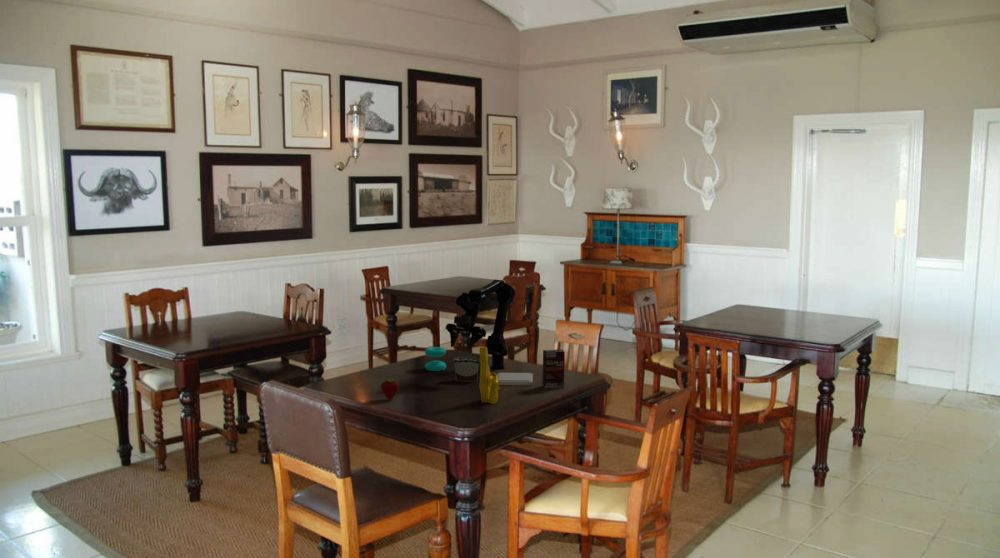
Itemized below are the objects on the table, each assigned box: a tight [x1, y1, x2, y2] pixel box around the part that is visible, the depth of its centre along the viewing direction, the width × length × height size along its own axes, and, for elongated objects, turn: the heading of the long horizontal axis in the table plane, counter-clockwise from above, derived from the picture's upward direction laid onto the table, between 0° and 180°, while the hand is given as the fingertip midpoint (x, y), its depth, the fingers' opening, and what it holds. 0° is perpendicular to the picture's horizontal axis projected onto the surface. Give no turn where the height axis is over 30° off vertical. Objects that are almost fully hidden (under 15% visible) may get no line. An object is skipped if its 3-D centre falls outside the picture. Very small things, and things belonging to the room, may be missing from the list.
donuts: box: [424, 346, 447, 372], centre depth 371 cm, size 10×10×10 cm
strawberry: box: [380, 378, 400, 401], centre depth 317 cm, size 6×8×10 cm
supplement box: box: [542, 349, 566, 389], centre depth 337 cm, size 9×5×16 cm, turn 102°
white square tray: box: [496, 372, 534, 386], centre depth 349 cm, size 16×16×2 cm
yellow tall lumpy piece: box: [479, 346, 501, 405], centre depth 313 cm, size 18×8×22 cm, turn 166°
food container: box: [452, 356, 480, 383], centre depth 350 cm, size 12×6×10 cm, turn 84°
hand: (460, 347), depth 347 cm, fingers open, 9 cm apart
